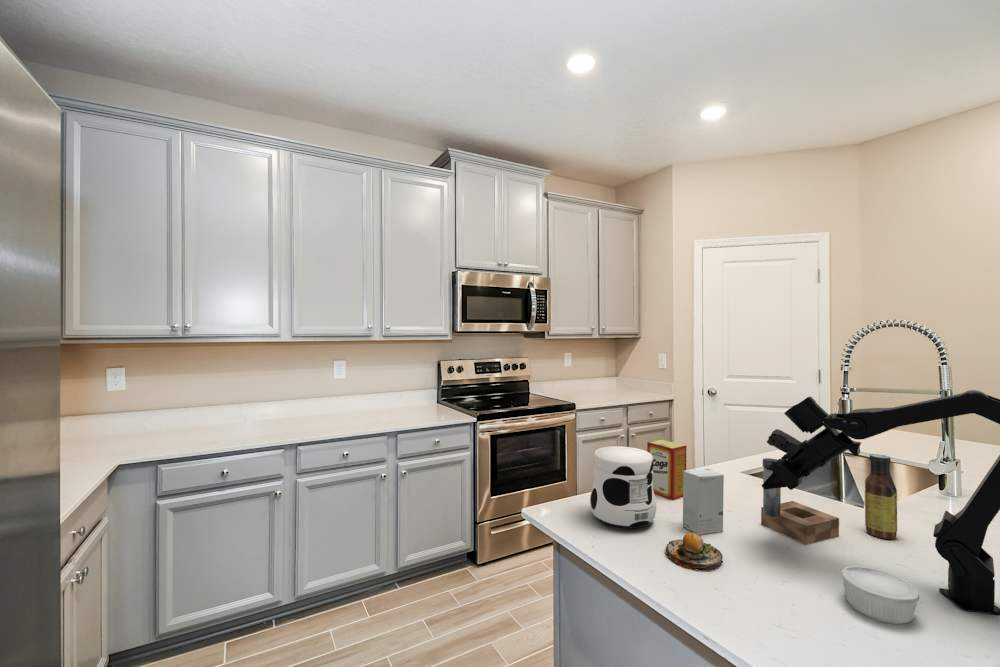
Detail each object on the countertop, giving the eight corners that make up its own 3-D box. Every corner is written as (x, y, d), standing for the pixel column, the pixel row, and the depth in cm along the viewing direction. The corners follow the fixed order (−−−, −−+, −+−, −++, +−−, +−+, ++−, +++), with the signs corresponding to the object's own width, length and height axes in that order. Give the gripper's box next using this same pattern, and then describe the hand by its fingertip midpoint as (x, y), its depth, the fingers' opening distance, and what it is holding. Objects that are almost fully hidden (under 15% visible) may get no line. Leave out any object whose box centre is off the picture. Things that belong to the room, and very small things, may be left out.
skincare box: (697, 536, 113) (698, 477, 113) (681, 526, 119) (681, 469, 118) (724, 531, 115) (725, 473, 115) (707, 521, 121) (707, 466, 121)
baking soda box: (647, 490, 144) (647, 440, 144) (660, 486, 148) (660, 438, 147) (672, 500, 136) (673, 447, 136) (686, 496, 140) (686, 444, 139)
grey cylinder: (783, 518, 107) (784, 463, 107) (764, 516, 108) (765, 462, 108) (778, 511, 111) (778, 459, 111) (760, 509, 112) (760, 457, 112)
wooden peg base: (838, 536, 113) (839, 518, 113) (806, 544, 109) (806, 526, 109) (792, 517, 124) (792, 500, 124) (761, 524, 120) (761, 507, 120)
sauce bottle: (903, 541, 110) (904, 460, 110) (874, 539, 111) (875, 459, 111) (886, 529, 117) (887, 453, 116) (858, 527, 118) (859, 451, 118)
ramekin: (881, 591, 90) (881, 564, 90) (937, 628, 79) (938, 598, 79) (826, 592, 89) (826, 565, 89) (875, 630, 78) (875, 599, 78)
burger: (731, 560, 102) (732, 527, 102) (708, 579, 94) (708, 544, 94) (680, 541, 111) (681, 510, 111) (655, 557, 103) (655, 524, 103)
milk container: (604, 502, 135) (604, 442, 134) (663, 516, 125) (664, 451, 125) (579, 523, 120) (580, 455, 120) (645, 540, 111) (645, 467, 110)
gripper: (801, 415, 113) (752, 450, 121) (780, 426, 100) (727, 465, 108) (839, 452, 108) (786, 487, 116) (823, 470, 95) (763, 507, 103)
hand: (765, 485), depth 111 cm, fingers closed on grey cylinder, 4 cm apart
